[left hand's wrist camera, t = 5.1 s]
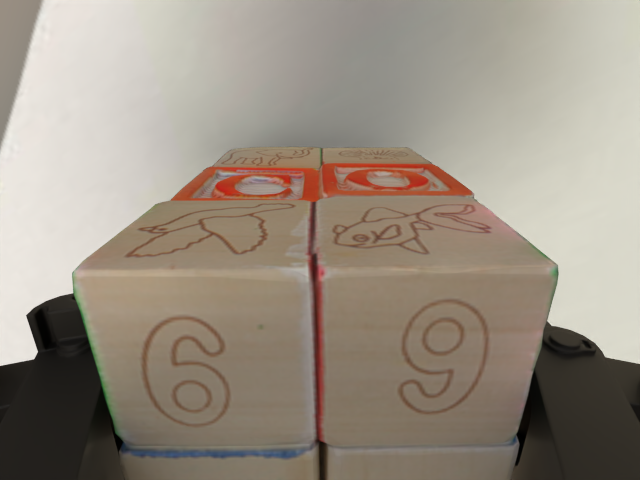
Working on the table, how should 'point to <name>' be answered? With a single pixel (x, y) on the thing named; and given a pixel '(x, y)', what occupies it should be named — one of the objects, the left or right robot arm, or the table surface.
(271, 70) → the table surface
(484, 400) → the stack of blocks
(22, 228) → the table surface
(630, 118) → the table surface
